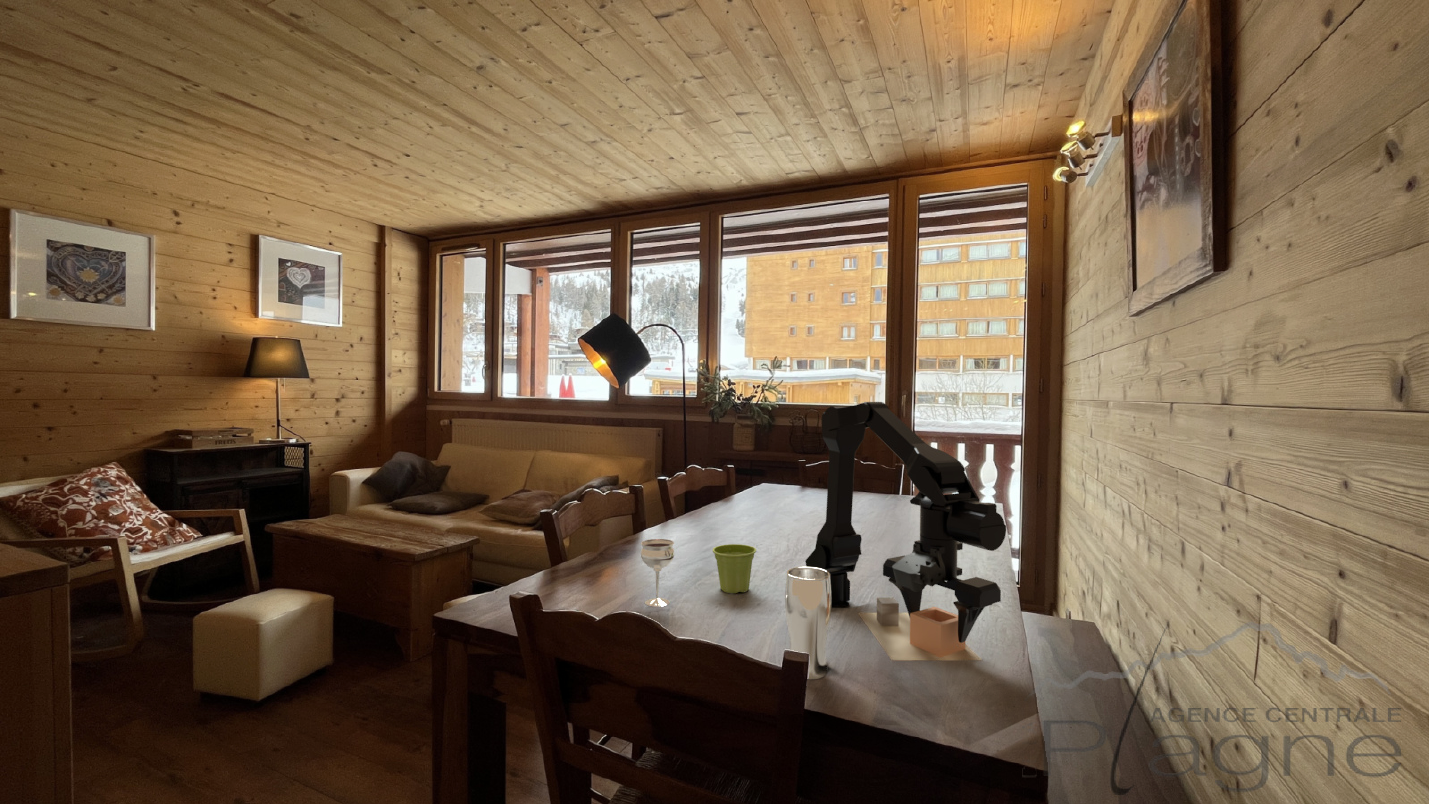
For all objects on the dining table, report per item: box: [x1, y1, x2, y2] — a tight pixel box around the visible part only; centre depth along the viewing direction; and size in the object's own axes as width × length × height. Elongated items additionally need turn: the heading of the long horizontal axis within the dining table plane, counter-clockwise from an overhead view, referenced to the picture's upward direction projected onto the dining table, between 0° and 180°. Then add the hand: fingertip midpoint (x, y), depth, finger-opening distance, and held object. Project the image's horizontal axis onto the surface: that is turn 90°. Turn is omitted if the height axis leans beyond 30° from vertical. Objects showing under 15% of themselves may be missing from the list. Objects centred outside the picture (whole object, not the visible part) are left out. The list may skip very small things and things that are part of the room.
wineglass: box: [640, 538, 675, 608], centre depth 122 cm, size 7×7×12 cm
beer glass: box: [784, 566, 832, 680], centre depth 92 cm, size 7×7×15 cm
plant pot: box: [712, 543, 757, 594], centre depth 130 cm, size 9×9×9 cm
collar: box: [910, 606, 966, 657], centre depth 98 cm, size 6×6×5 cm
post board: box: [858, 597, 983, 662], centre depth 103 cm, size 14×20×6 cm
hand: (937, 631), depth 98 cm, fingers open, 9 cm apart
